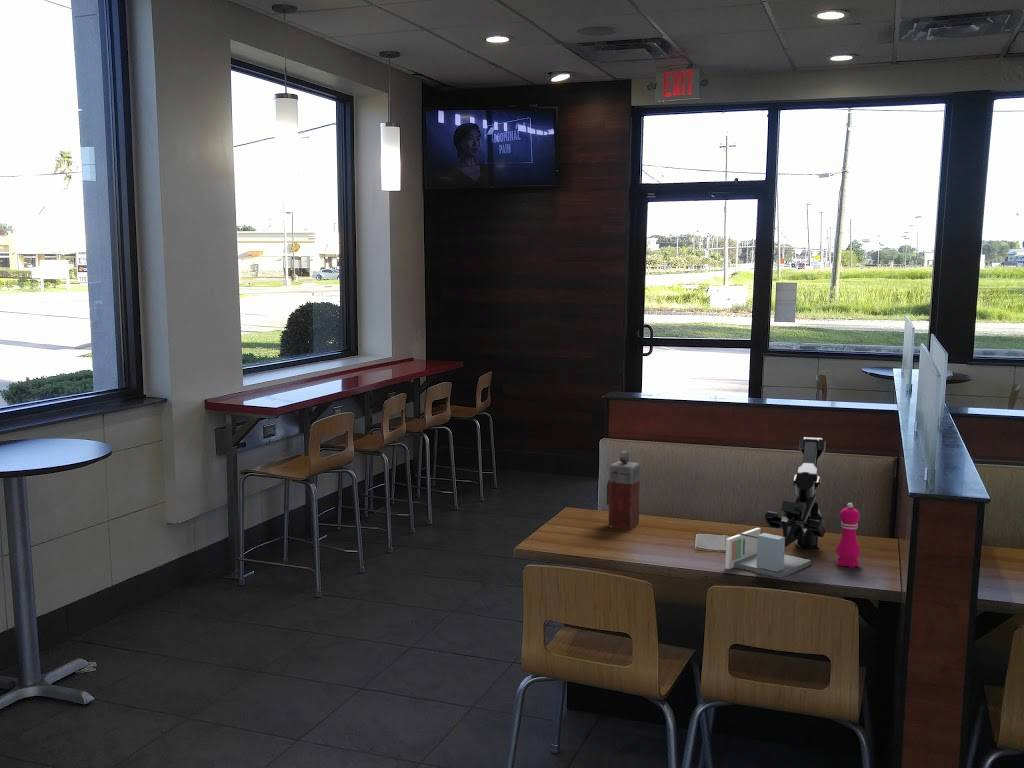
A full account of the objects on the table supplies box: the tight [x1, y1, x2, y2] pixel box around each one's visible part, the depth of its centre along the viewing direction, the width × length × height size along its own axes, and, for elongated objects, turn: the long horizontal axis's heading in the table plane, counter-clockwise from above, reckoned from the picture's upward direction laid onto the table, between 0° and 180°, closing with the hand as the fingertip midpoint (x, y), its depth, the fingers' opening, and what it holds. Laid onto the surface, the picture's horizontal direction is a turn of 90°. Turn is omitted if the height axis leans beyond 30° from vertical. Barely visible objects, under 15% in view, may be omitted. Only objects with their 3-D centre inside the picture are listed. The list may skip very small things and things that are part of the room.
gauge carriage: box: [738, 532, 786, 572], centre depth 278 cm, size 5×14×10 cm, turn 45°
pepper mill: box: [835, 502, 862, 568], centre depth 284 cm, size 7×7×20 cm
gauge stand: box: [725, 527, 812, 579], centre depth 282 cm, size 22×17×10 cm
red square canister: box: [606, 450, 641, 530], centre depth 332 cm, size 9×11×28 cm
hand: (784, 546), depth 281 cm, fingers closed
